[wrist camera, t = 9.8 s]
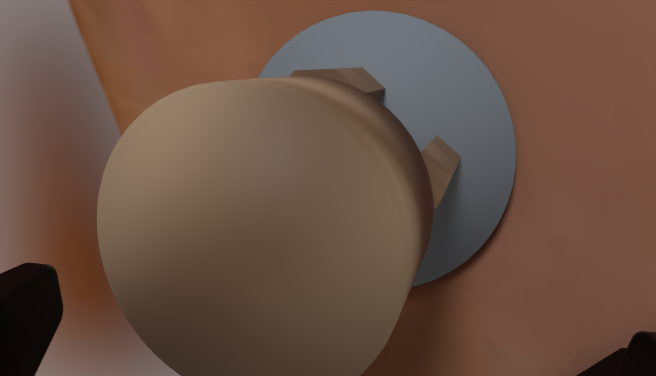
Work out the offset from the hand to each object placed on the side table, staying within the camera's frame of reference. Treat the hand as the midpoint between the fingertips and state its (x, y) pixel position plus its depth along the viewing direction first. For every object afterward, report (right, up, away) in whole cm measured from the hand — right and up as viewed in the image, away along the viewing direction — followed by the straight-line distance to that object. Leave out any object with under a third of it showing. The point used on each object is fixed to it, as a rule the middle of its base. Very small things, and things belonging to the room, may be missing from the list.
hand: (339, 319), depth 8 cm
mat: (+1, +3, +13) cm, 14 cm away
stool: (+1, +3, +13) cm, 13 cm away
